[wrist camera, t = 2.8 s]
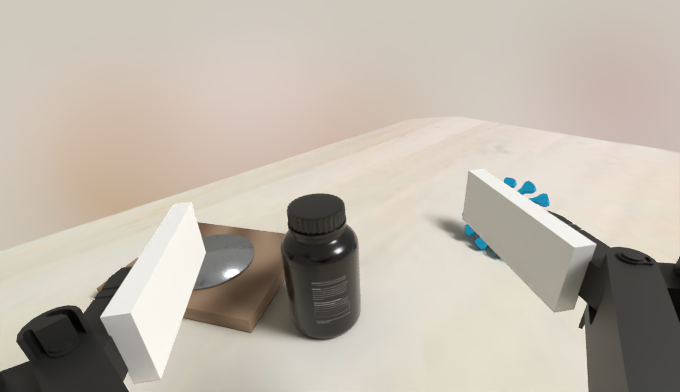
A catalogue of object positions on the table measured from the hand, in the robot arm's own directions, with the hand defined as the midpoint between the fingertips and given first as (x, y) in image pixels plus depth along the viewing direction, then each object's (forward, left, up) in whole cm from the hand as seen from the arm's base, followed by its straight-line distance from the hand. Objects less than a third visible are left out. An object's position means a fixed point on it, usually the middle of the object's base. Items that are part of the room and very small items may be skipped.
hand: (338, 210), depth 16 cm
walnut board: (-20, +12, -17) cm, 29 cm away
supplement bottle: (-5, +9, -17) cm, 20 cm away
